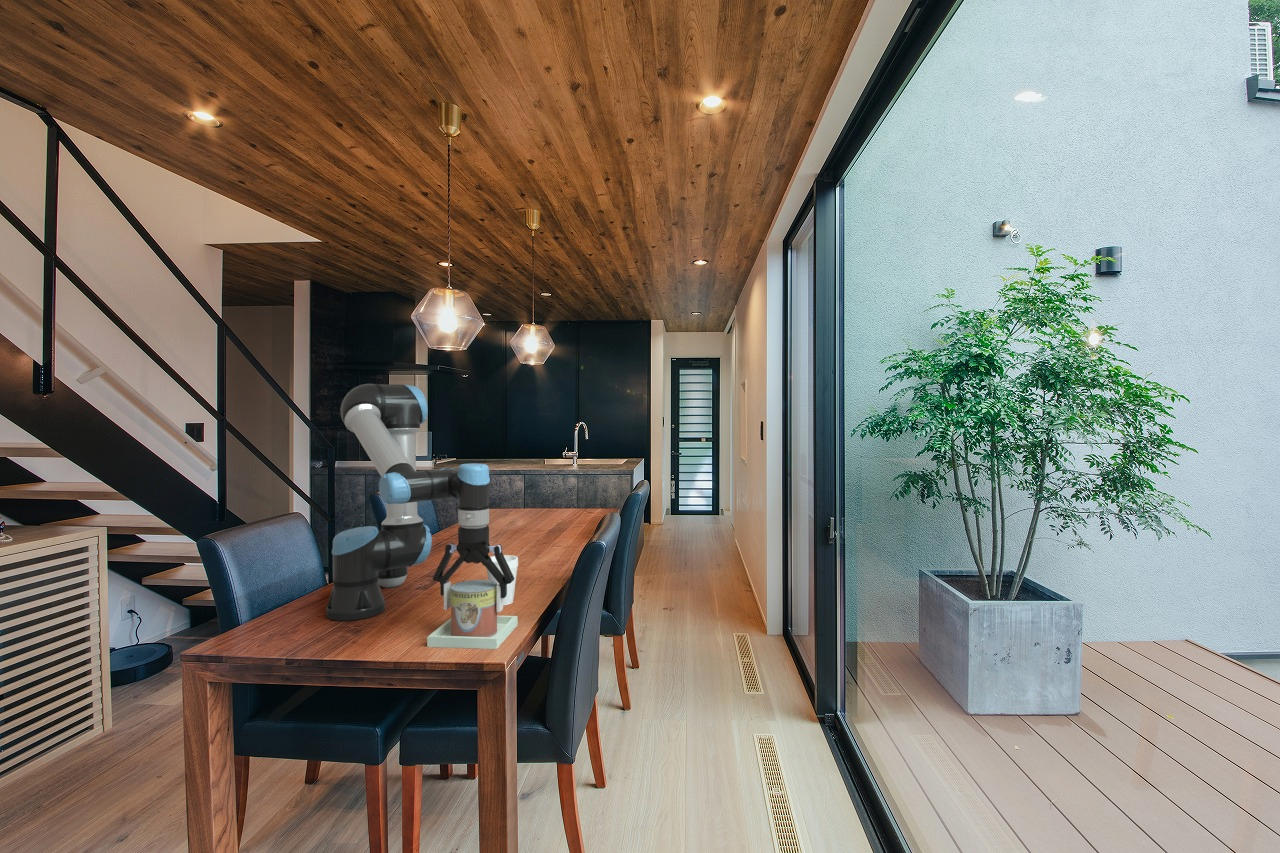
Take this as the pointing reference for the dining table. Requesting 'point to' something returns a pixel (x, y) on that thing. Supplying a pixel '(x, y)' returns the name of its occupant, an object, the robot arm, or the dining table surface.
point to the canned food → (474, 608)
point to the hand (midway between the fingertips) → (473, 609)
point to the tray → (444, 638)
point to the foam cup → (512, 564)
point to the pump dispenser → (392, 577)
